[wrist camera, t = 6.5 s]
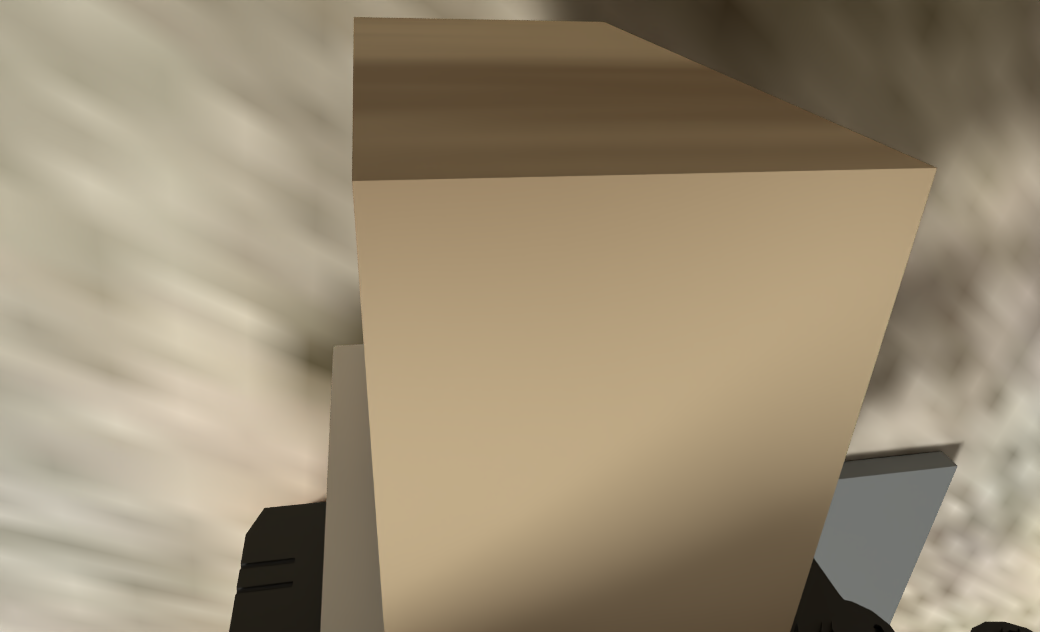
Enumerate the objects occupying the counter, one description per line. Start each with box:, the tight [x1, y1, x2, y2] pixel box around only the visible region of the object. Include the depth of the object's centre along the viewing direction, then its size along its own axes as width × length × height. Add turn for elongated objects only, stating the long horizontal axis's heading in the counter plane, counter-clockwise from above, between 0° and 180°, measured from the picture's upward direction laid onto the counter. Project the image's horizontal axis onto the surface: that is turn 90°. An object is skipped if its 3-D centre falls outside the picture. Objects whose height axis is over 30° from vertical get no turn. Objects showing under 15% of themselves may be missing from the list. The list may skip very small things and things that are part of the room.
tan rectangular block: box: [352, 17, 937, 632], centre depth 11 cm, size 13×10×8 cm
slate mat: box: [814, 451, 957, 625], centre depth 29 cm, size 15×11×1 cm
